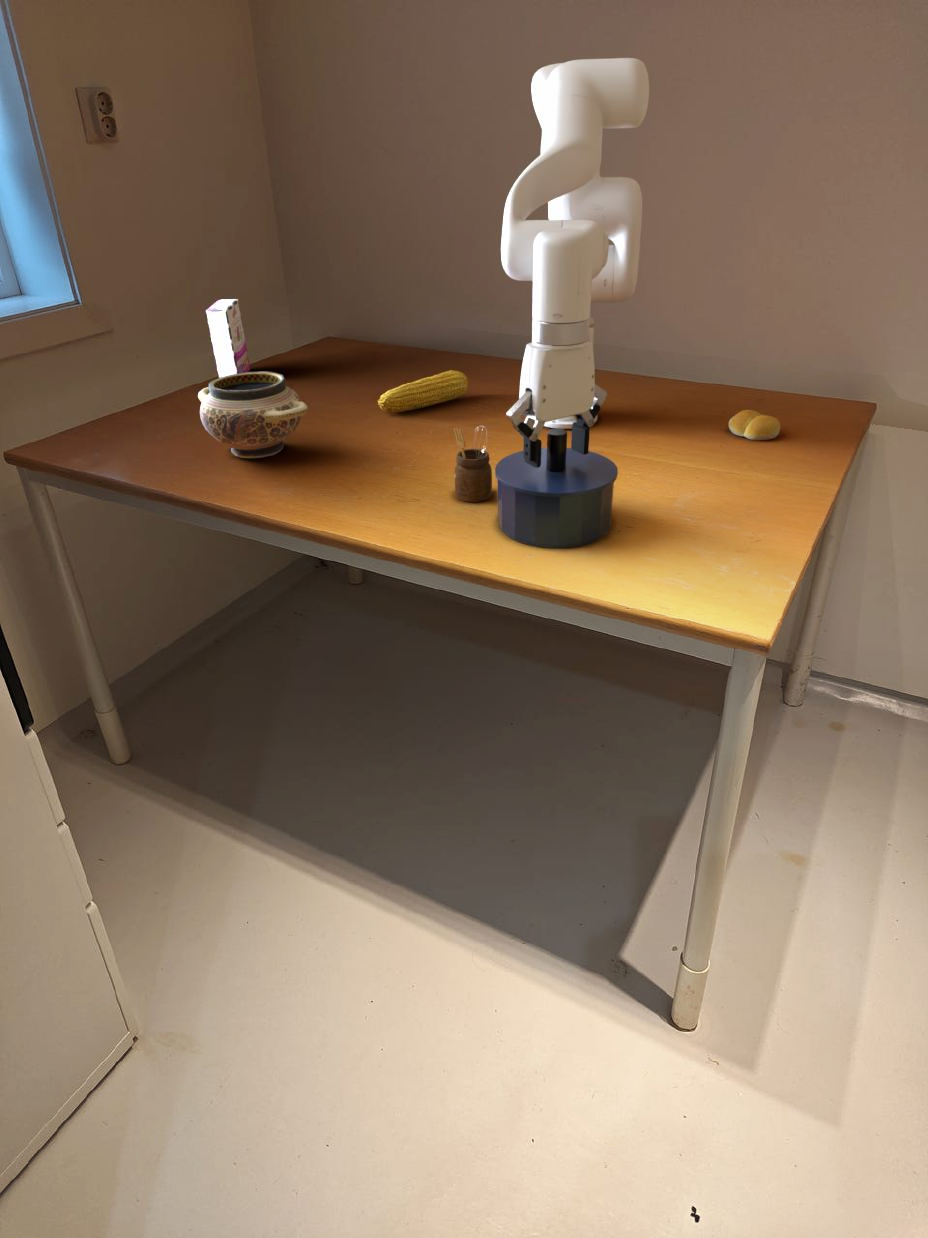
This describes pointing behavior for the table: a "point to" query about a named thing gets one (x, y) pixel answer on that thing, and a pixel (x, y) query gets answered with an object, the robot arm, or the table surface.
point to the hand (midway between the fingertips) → (556, 457)
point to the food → (424, 392)
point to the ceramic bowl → (251, 412)
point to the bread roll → (754, 425)
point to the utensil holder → (472, 472)
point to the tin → (554, 517)
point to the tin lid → (557, 470)
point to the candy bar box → (228, 337)
